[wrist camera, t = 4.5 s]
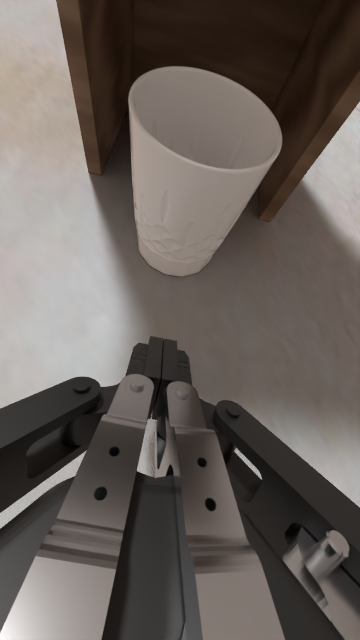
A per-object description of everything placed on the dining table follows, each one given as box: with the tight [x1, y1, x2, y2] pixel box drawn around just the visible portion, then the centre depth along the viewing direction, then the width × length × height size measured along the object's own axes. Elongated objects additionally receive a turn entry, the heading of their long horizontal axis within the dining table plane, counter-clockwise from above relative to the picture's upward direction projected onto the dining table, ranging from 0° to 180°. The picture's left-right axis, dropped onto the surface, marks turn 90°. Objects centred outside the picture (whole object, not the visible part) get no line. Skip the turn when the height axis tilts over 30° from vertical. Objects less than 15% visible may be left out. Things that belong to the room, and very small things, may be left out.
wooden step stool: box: [56, 0, 360, 222], centre depth 16 cm, size 16×21×20 cm
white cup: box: [128, 66, 282, 277], centre depth 16 cm, size 8×8×10 cm
